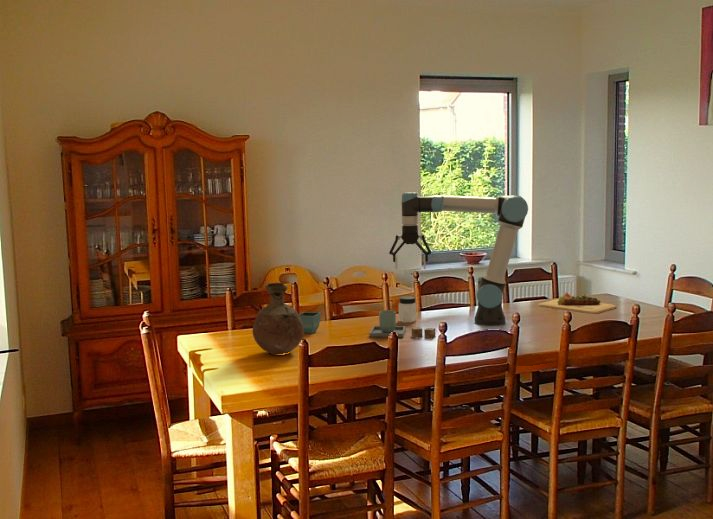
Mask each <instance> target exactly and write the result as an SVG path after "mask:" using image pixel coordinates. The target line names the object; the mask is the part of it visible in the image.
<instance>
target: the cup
mask: <svg viewBox="0 0 713 519" xmlns="http://www.w3.org/2000/svg"><path fill="white" fill-rule="evenodd" d="M396 316H397V311H395V310H390V309H384V310H380V311H379V312H378V319H379V320H378V324H379V326H380V329H381V331H382V332H383V333H391V332H394V330H395V327H396V326H397V317H396Z"/></svg>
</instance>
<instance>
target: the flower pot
mask: <svg viewBox="0 0 713 519" xmlns="http://www.w3.org/2000/svg"><path fill="white" fill-rule="evenodd" d="M298 315H299V316H300V318H301V320H302V323H303V334H314V333H316V332H317V331H318V329H319V326H320V323H321V312H314V311H313V312H310V311H309V312H308V311H304V312H301V313H298Z"/></svg>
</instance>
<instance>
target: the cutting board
mask: <svg viewBox="0 0 713 519" xmlns="http://www.w3.org/2000/svg"><path fill="white" fill-rule="evenodd" d="M538 307H541V308H549V309H555V310H563V311H570V312H578V313H586V314H594V315H595V314H597V315H598V314H600V313H604V312H607V311H610V310H613V309H616V308H617V305H615V304H612V303H605V302H604V303H603V302H601V300H600V299H598V298H596V297H592V296H588V295H586V294H581V295H578V294H577V295H576V296H574V295H570V294H569V293H568V292H565V293H564V295H563V296H560V297H559V298H555V299H553V300H548V301H545V302H540V303H538Z"/></svg>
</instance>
